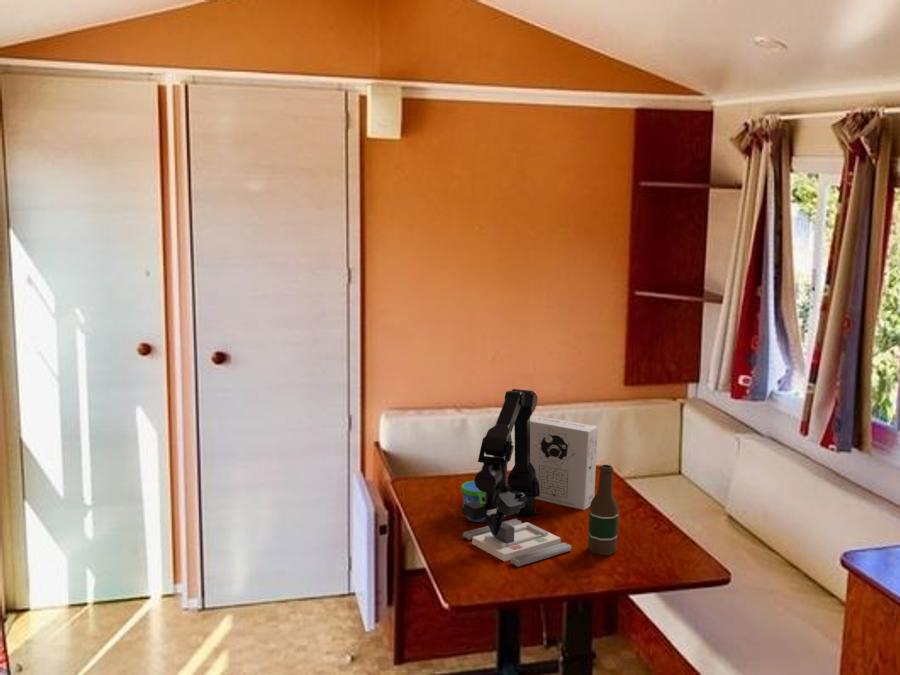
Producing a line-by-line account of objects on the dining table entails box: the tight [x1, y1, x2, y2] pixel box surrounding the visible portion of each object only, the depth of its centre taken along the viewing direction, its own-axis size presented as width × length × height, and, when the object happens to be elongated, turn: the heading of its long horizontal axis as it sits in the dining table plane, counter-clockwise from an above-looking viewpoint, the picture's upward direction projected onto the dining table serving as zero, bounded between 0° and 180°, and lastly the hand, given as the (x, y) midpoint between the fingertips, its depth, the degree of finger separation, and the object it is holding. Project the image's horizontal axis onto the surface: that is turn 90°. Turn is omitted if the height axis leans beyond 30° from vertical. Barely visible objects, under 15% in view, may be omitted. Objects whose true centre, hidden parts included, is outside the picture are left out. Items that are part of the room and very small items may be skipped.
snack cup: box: [460, 480, 487, 523], centre depth 266 cm, size 16×10×10 cm
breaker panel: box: [471, 522, 562, 563], centre depth 248 cm, size 20×14×3 cm
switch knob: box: [494, 521, 514, 544], centre depth 245 cm, size 3×5×4 cm, turn 36°
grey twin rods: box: [462, 518, 573, 568], centre depth 248 cm, size 20×24×2 cm
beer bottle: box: [587, 464, 619, 556], centre depth 243 cm, size 8×8×24 cm
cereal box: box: [530, 415, 599, 511], centre depth 282 cm, size 22×8×25 cm, turn 58°
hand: (494, 535), depth 243 cm, fingers closed
